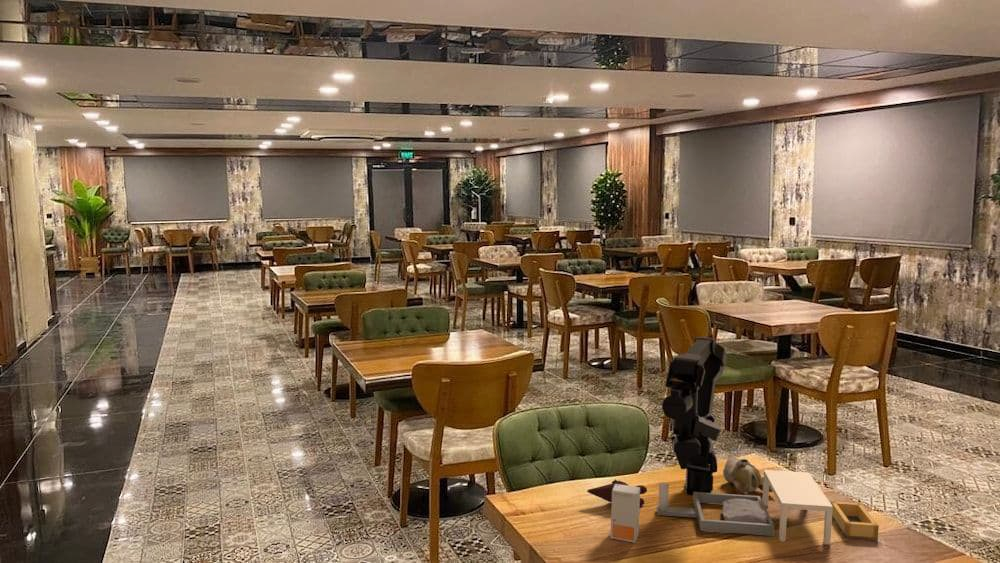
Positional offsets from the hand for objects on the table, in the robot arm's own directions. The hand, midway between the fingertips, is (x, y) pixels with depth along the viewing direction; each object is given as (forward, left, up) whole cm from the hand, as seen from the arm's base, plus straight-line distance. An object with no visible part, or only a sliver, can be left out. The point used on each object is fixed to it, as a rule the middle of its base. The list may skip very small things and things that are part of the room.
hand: (683, 468), depth 176 cm
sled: (+7, -1, -11) cm, 14 cm away
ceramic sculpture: (+18, +18, -12) cm, 29 cm away
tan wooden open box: (+40, -1, -12) cm, 42 cm away
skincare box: (-14, -15, -12) cm, 24 cm away
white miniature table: (+27, -1, -12) cm, 29 cm away
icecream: (-16, +2, -12) cm, 20 cm away
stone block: (+15, -1, -12) cm, 19 cm away
